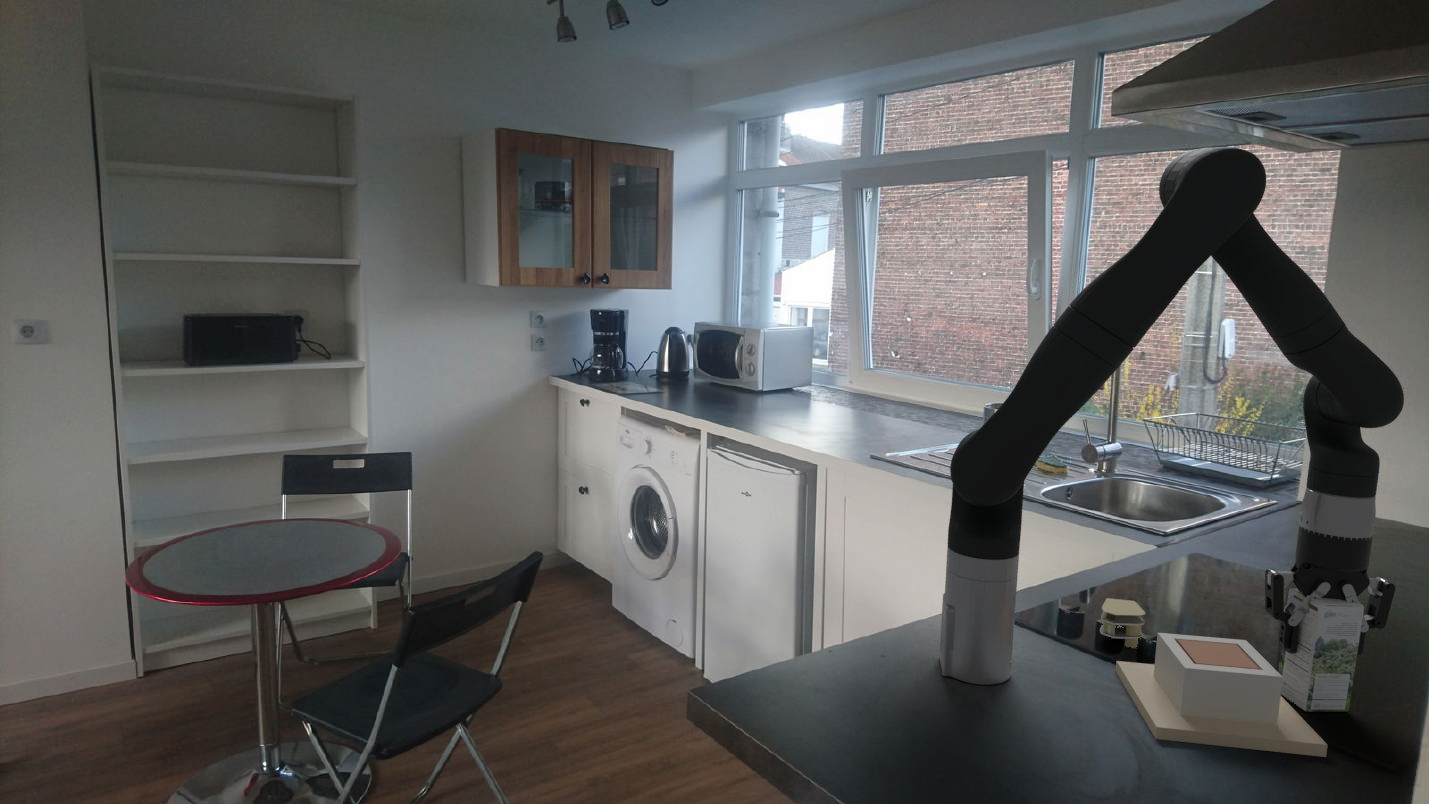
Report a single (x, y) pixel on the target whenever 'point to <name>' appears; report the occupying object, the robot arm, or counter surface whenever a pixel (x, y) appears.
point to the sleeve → (1216, 701)
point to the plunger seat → (1216, 654)
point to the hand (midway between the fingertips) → (1319, 653)
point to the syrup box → (1323, 656)
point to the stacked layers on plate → (1122, 620)
